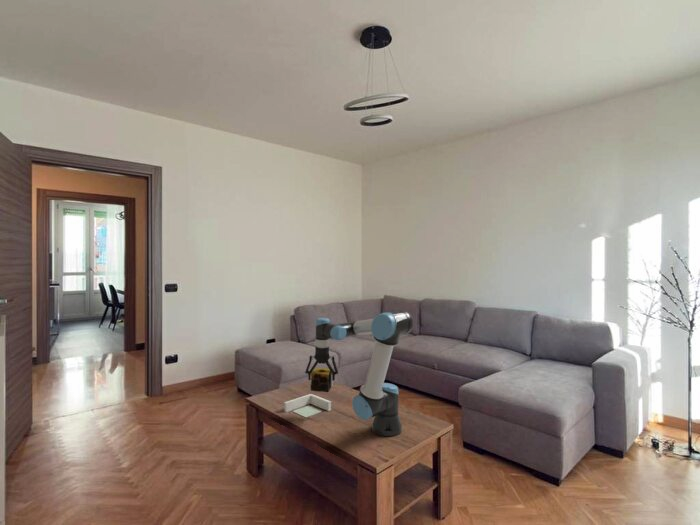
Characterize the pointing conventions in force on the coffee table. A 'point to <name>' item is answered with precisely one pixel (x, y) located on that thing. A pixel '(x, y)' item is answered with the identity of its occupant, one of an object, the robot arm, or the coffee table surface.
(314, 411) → the pad
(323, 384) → the candle
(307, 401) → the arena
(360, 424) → the coffee table surface
